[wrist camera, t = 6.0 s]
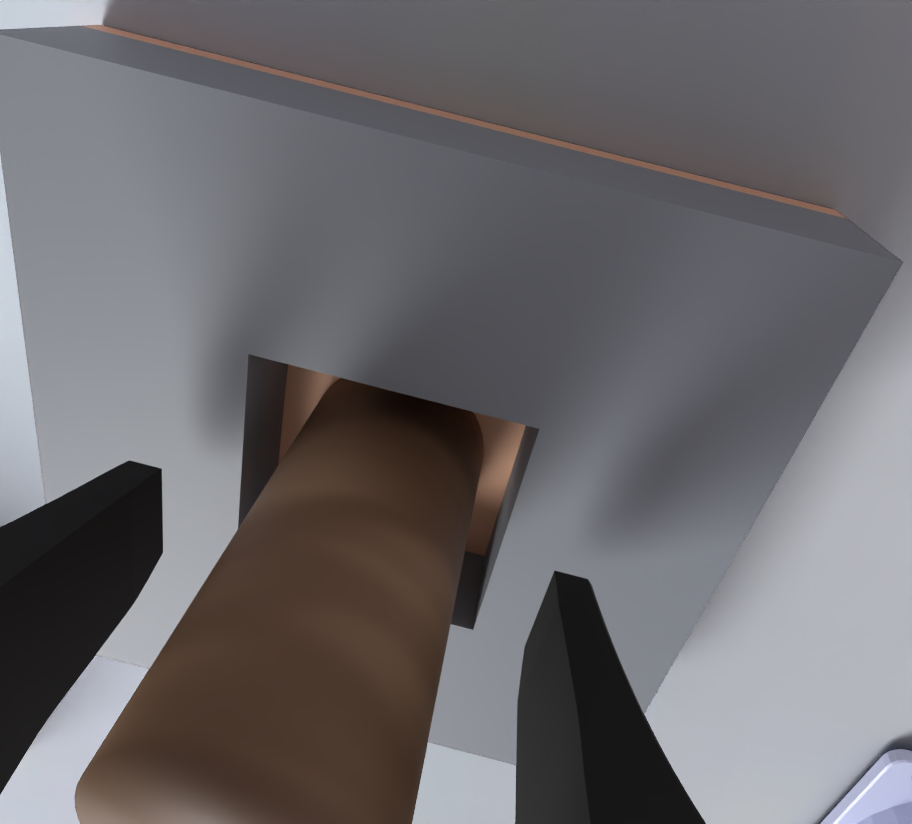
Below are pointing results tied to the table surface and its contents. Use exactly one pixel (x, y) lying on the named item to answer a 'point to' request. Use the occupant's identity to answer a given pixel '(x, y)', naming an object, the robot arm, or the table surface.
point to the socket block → (413, 331)
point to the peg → (309, 634)
